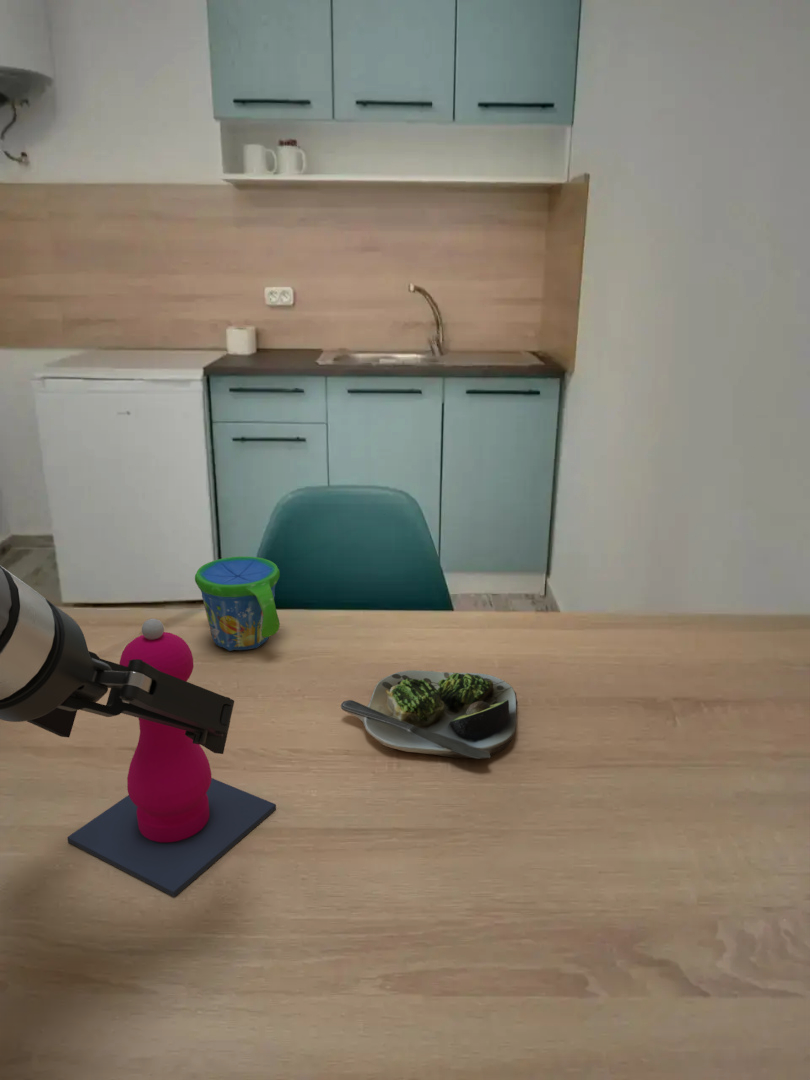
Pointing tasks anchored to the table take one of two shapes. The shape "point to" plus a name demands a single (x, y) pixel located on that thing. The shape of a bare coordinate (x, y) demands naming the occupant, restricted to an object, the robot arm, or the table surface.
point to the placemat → (172, 861)
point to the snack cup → (239, 600)
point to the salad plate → (440, 713)
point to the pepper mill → (166, 751)
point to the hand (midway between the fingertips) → (145, 729)
